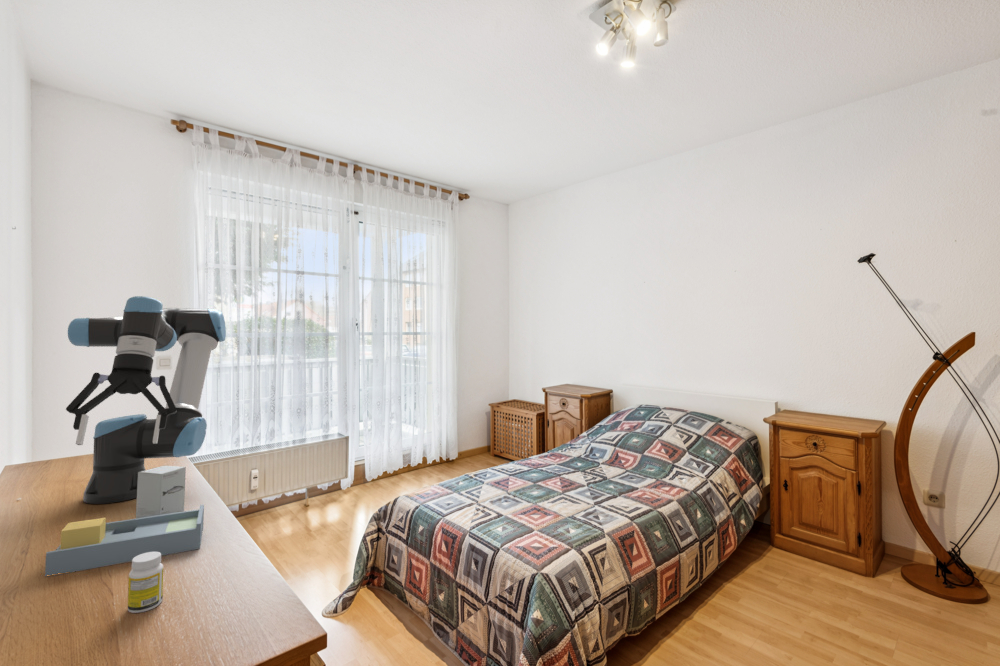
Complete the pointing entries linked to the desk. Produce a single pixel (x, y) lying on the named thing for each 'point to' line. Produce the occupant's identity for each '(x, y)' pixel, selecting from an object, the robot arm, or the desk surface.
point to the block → (83, 533)
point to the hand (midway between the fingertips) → (118, 443)
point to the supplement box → (160, 491)
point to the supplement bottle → (145, 582)
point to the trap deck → (132, 541)
